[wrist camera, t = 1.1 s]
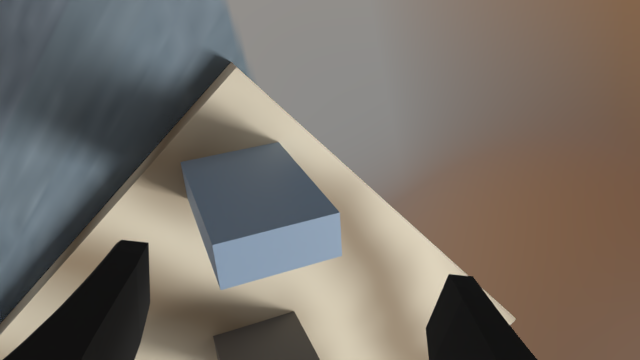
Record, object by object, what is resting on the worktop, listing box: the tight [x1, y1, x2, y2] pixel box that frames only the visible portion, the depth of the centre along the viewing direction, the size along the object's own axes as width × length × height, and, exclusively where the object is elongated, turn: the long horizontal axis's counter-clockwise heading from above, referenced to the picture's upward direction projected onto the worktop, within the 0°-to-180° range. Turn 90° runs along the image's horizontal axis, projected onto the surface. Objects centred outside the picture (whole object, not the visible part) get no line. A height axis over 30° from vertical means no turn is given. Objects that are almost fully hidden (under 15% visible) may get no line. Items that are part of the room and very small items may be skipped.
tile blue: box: [180, 142, 342, 290], centre depth 21 cm, size 2×4×7 cm, turn 94°
